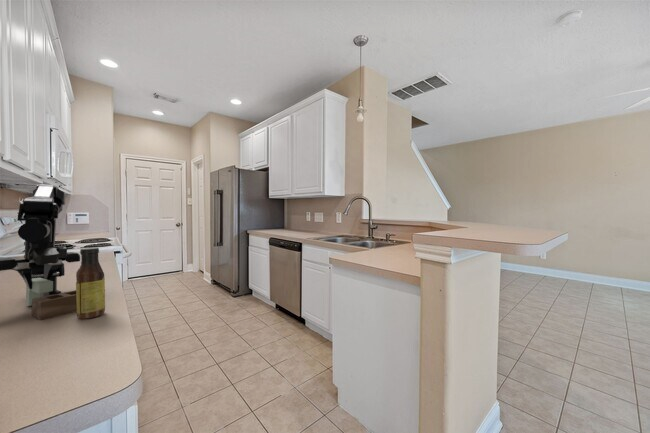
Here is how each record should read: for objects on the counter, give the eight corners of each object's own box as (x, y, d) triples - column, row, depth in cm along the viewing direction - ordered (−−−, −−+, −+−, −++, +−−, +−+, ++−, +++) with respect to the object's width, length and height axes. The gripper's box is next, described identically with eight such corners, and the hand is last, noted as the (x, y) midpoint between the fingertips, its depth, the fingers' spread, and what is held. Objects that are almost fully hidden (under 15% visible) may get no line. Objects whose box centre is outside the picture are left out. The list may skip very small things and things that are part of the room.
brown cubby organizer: (31, 316, 75) (32, 298, 75) (84, 303, 86) (84, 288, 86) (40, 320, 72) (40, 302, 72) (93, 306, 83) (94, 291, 83)
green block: (26, 304, 83) (26, 279, 83) (39, 301, 85) (39, 277, 85) (38, 310, 78) (39, 283, 78) (52, 306, 81) (53, 281, 81)
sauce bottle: (110, 312, 79) (111, 247, 79) (90, 320, 73) (91, 250, 72) (91, 311, 79) (92, 246, 79) (69, 319, 73) (70, 249, 73)
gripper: (1, 243, 70) (1, 300, 70) (88, 238, 87) (87, 284, 87) (-12, 240, 75) (-13, 294, 75) (72, 236, 92) (72, 280, 92)
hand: (38, 287), depth 82 cm, fingers closed on green block, 3 cm apart
